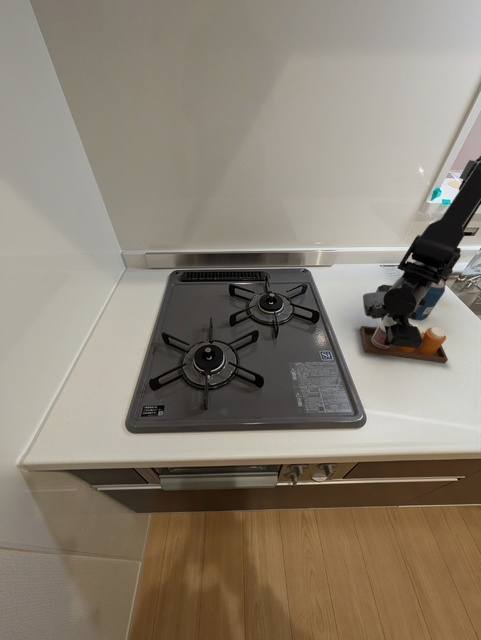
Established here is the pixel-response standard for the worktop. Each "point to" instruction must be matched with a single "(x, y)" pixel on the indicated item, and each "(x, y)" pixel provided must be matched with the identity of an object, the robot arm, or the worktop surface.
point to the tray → (397, 349)
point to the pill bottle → (382, 333)
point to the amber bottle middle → (408, 349)
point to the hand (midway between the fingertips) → (383, 337)
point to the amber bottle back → (432, 341)
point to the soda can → (430, 300)
